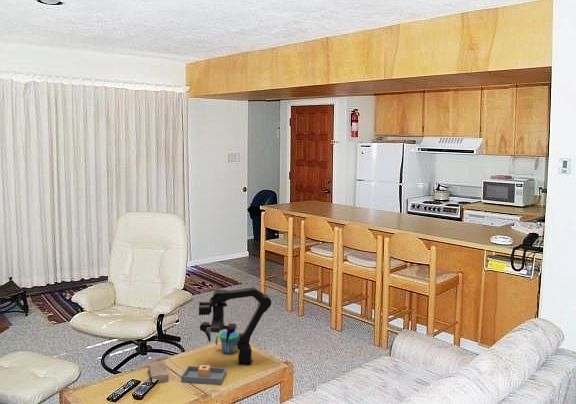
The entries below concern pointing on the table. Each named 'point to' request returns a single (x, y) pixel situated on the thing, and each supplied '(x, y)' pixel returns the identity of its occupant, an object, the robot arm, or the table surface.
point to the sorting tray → (215, 377)
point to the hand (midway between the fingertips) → (218, 342)
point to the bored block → (204, 371)
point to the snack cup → (231, 344)
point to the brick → (158, 371)
